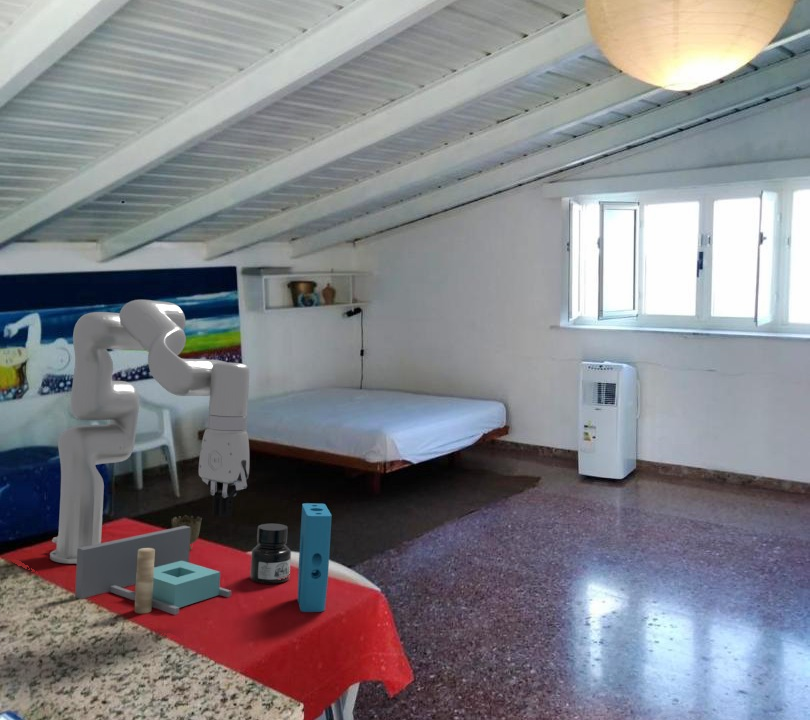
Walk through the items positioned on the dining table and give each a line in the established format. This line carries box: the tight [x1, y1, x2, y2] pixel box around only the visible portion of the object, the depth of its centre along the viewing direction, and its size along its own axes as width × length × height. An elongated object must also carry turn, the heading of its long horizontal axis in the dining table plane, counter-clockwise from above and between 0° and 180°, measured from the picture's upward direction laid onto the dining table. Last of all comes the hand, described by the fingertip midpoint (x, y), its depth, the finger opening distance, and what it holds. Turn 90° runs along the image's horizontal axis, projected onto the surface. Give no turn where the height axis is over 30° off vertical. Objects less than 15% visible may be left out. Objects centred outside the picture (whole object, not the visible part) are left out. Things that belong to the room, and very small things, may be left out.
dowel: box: [134, 548, 155, 614], centre depth 150 cm, size 3×3×12 cm
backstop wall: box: [74, 526, 232, 615], centre depth 161 cm, size 22×28×10 cm
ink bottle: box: [249, 523, 292, 585], centre depth 174 cm, size 10×9×12 cm
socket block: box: [134, 561, 221, 609], centre depth 159 cm, size 12×12×5 cm
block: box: [297, 502, 332, 613], centre depth 159 cm, size 12×5×20 cm, turn 13°
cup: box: [170, 514, 202, 550], centre depth 194 cm, size 8×7×8 cm
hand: (222, 514), depth 153 cm, fingers closed
